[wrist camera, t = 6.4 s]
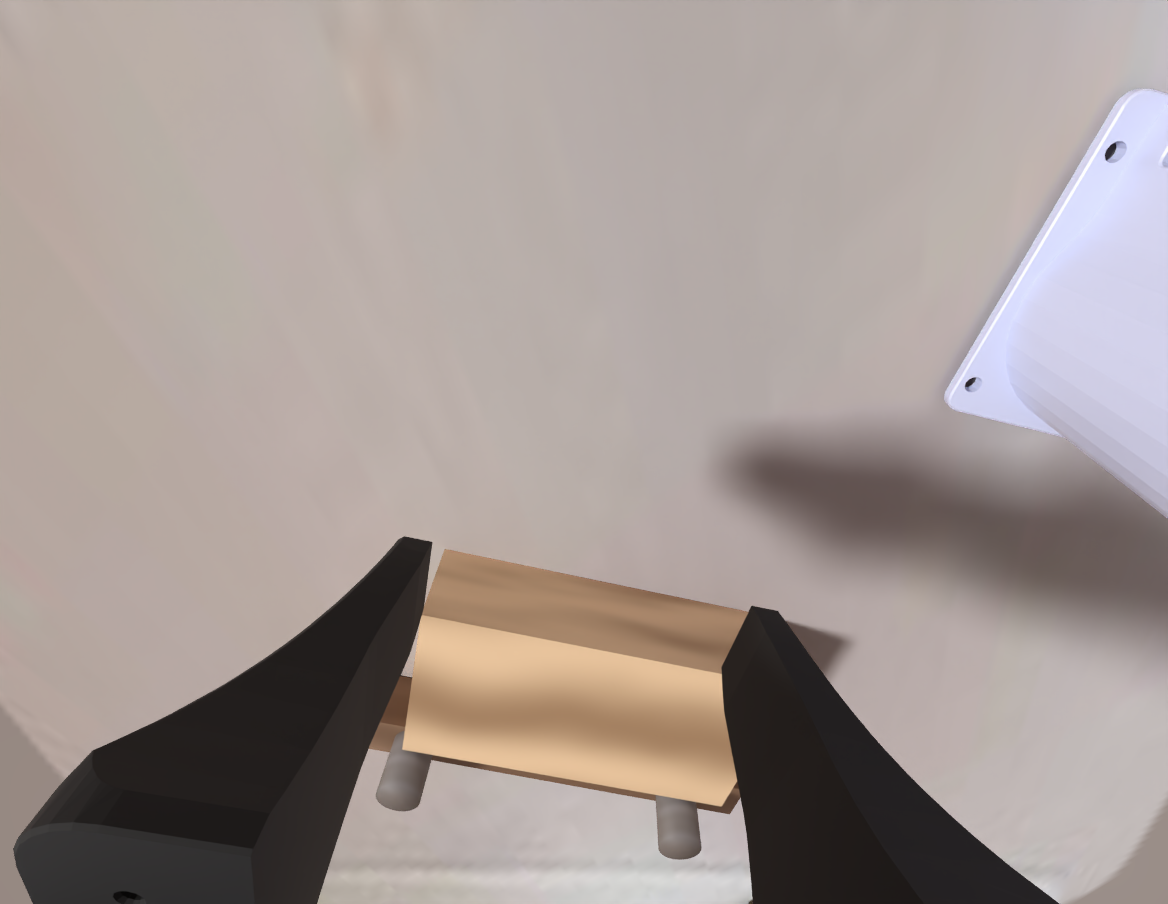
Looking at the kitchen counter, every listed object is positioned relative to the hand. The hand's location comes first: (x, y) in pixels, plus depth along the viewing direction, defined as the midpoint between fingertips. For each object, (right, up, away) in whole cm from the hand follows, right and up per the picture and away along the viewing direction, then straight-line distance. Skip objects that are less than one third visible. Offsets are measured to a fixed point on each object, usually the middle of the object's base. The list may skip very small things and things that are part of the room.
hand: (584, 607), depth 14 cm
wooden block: (0, -5, +14) cm, 15 cm away
